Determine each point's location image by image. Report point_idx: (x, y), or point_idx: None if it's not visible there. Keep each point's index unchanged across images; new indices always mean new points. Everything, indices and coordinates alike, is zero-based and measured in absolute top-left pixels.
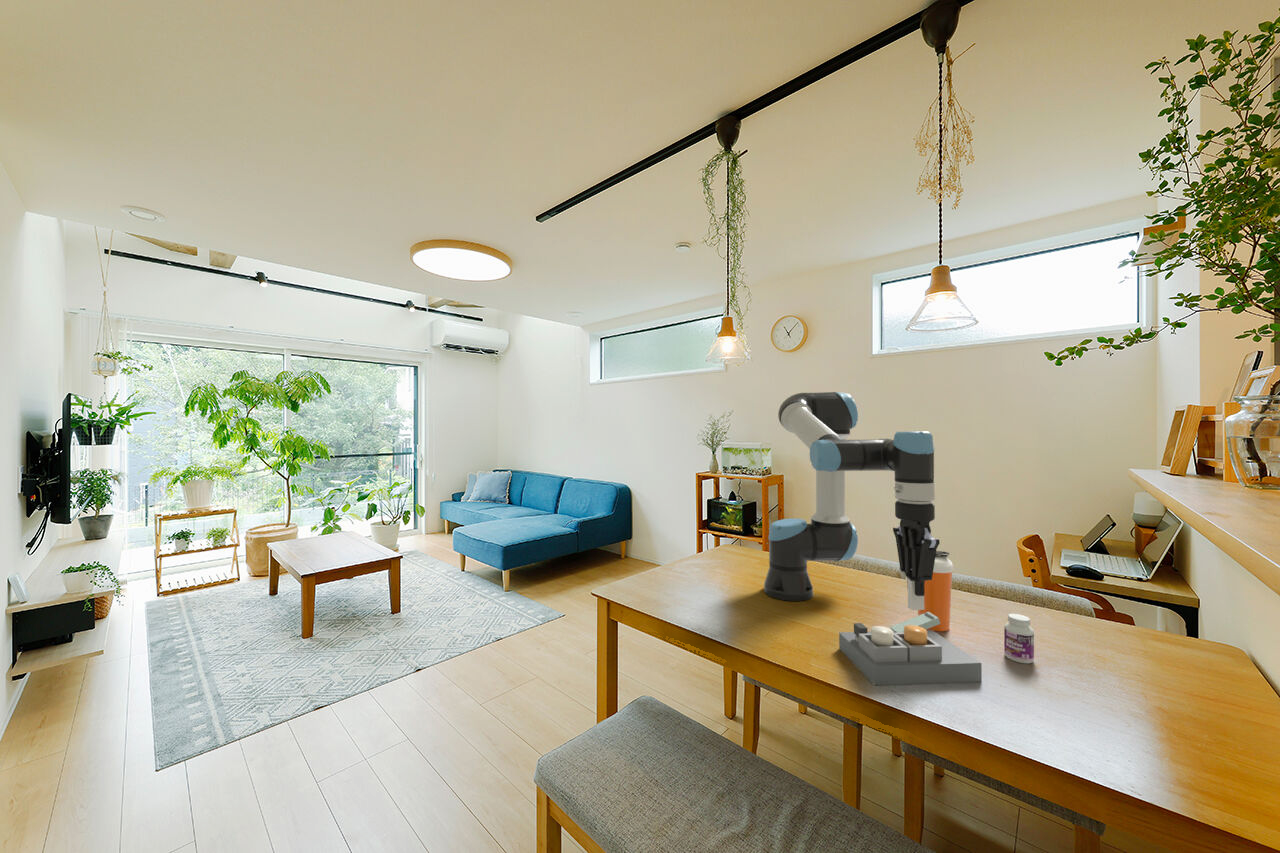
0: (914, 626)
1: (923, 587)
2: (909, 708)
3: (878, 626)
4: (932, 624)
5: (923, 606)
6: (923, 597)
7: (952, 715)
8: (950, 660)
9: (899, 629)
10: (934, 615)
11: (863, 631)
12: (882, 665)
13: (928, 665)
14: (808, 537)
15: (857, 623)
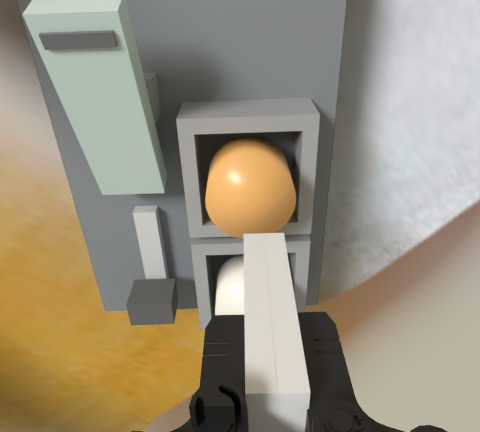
0: (219, 189)
1: (345, 369)
2: (410, 243)
3: (218, 311)
4: (133, 45)
5: (286, 249)
6: (290, 283)
7: (463, 167)
8: (313, 63)
9: (138, 181)
10: (83, 13)
11: (174, 306)
12: (316, 286)
13: (330, 161)
14: None
15: (132, 316)
